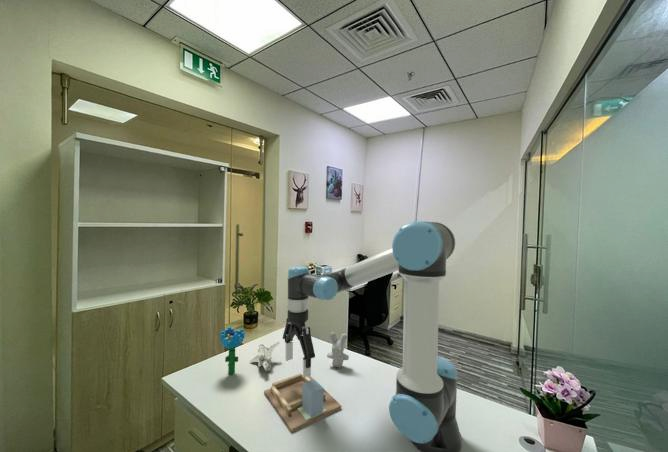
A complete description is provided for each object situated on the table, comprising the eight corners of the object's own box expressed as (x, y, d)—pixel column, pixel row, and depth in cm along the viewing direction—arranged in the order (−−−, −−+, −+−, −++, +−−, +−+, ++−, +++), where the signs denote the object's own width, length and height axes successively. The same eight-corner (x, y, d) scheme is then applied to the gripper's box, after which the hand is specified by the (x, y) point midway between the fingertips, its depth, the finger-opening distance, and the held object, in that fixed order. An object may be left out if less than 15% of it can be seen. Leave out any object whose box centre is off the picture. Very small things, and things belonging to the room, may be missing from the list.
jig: (341, 409, 92) (341, 400, 92) (291, 433, 81) (291, 423, 81) (308, 377, 110) (309, 370, 110) (264, 393, 99) (264, 385, 99)
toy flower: (234, 381, 105) (235, 336, 105) (214, 377, 108) (215, 333, 108) (247, 369, 114) (248, 327, 114) (229, 365, 117) (230, 324, 116)
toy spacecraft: (274, 334, 123) (245, 353, 120) (276, 351, 108) (242, 374, 106) (283, 347, 125) (254, 367, 122) (286, 366, 110) (253, 389, 107)
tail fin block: (322, 412, 88) (323, 388, 88) (311, 417, 85) (311, 392, 85) (313, 401, 93) (314, 378, 93) (301, 406, 90) (302, 383, 90)
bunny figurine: (349, 365, 120) (350, 332, 119) (347, 371, 115) (348, 337, 114) (328, 362, 122) (329, 329, 121) (325, 368, 117) (326, 334, 116)
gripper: (325, 317, 90) (324, 380, 90) (291, 299, 110) (291, 351, 110) (306, 321, 85) (305, 388, 85) (274, 302, 106) (274, 356, 106)
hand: (297, 367), depth 98 cm, fingers open, 13 cm apart
